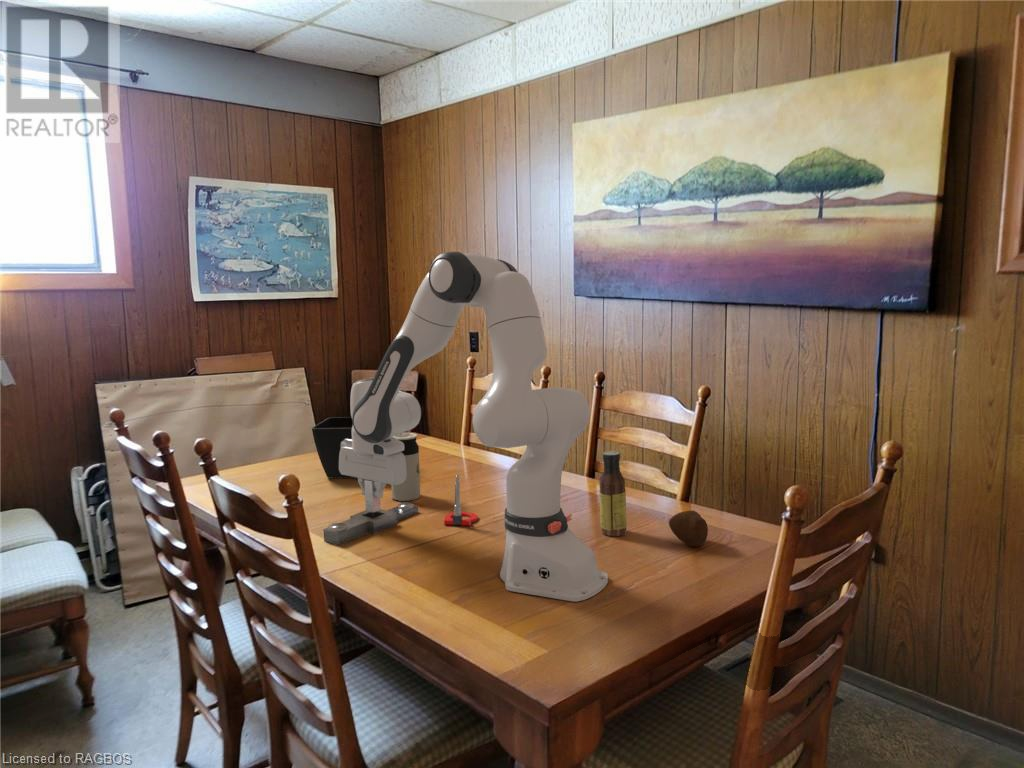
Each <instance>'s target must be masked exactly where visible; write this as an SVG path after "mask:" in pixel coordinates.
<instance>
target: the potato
mask: <svg viewBox="0 0 1024 768" xmlns="http://www.w3.org/2000/svg"><path fill="white" fill-rule="evenodd" d="M668 525H669V528H670V530H671V531H672V533H673V534H674V535H675V536H676V538H678V539H679V540H680V541H681V542H683V543H684V544H686V545H687V544H688V546H689V545H691V546H690V547H692V546H699V547H701V546H702V545H703V544H705V542H706V540H707V539H708V534H709V529H708V523H707V521H706V519H704V518H703V517H702V516H701V515H700V513H698V512H697V511H695V510H685V511H681V512H678V513H676V514H675V515H673V516H672V517H671V518H670V519H669V522H668Z"/></svg>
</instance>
